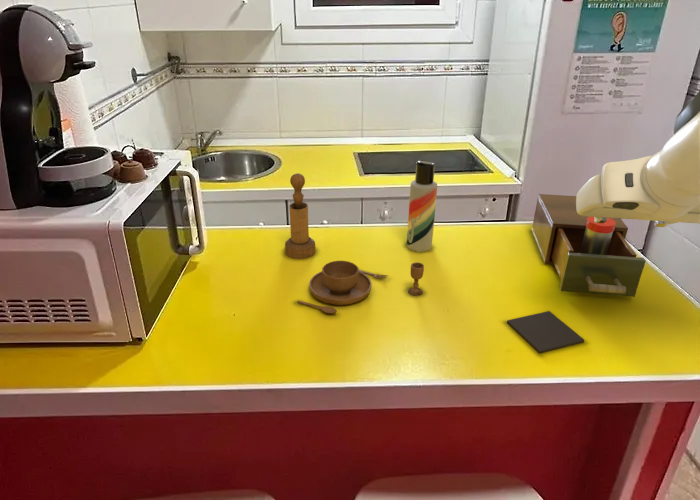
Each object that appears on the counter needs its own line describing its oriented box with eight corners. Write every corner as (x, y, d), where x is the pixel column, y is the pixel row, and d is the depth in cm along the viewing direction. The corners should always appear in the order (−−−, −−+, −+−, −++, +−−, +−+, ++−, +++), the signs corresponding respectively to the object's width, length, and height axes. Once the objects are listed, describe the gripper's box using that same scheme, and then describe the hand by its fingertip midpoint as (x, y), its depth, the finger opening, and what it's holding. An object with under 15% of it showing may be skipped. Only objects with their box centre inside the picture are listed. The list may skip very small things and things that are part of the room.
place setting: (338, 263, 110) (338, 238, 107) (426, 289, 101) (428, 263, 98) (289, 303, 96) (287, 275, 93) (385, 336, 87) (387, 307, 85)
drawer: (642, 309, 94) (654, 272, 90) (565, 303, 95) (574, 266, 92) (609, 258, 111) (618, 225, 108) (545, 253, 113) (551, 220, 109)
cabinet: (616, 269, 109) (628, 228, 104) (544, 264, 110) (553, 223, 106) (594, 235, 123) (604, 197, 119) (531, 231, 125) (538, 193, 120)
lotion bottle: (401, 246, 117) (406, 160, 108) (417, 238, 121) (424, 155, 111) (420, 255, 114) (427, 167, 104) (436, 247, 117) (445, 161, 108)
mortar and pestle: (290, 261, 110) (286, 181, 102) (281, 248, 116) (276, 171, 107) (319, 255, 113) (318, 177, 105) (309, 243, 118) (307, 167, 110)
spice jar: (589, 263, 107) (602, 214, 102) (608, 274, 103) (622, 224, 98) (570, 266, 105) (581, 217, 100) (587, 278, 101) (600, 227, 96)
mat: (548, 313, 94) (549, 310, 94) (584, 342, 86) (584, 339, 86) (506, 323, 91) (506, 320, 91) (539, 354, 84) (539, 351, 84)
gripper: (745, 169, 73) (693, 207, 86) (594, 161, 76) (565, 199, 89) (751, 211, 71) (696, 243, 84) (595, 201, 74) (565, 234, 87)
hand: (628, 220), depth 87 cm, fingers open, 8 cm apart
